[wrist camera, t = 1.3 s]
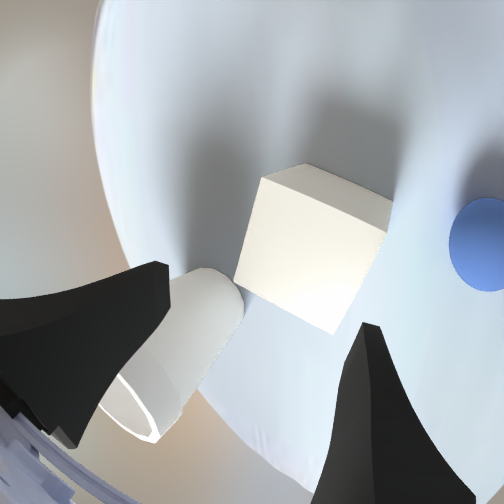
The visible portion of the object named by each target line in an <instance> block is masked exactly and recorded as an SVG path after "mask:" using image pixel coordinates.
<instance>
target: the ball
mask: <svg viewBox="0 0 504 504" xmlns="http://www.w3.org/2000/svg"><path fill="white" fill-rule="evenodd" d="M449 252H450V257H451V261H452V264H453V266H454V268H455V270H456V272H457V273H458V275H459V276H460V277H461V278H462V280H463V281H464V282H466V283H467V284H468V285H470V286H471V287H473V288H475V289H477V290H481V291H487V292H492V291H498V290H501V289H503V288H504V201H502V200H499V199H496V198H481V199H477V200H475V201H473V202H471V203H469V204H468V205H466V206H465V207H464V208H463V209H462V210H461V211H460V212H459V214H458V215H457V217H456V218H455V220H454V222H453V225H452V228H451V231H450V237H449Z"/></svg>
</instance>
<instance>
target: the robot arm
mask: <svg viewBox="0 0 504 504" xmlns="http://www.w3.org/2000/svg"><path fill="white" fill-rule="evenodd" d="M170 308H171V301H170V284H169V265H167V264H164V263H161V262H158V261H153V262H150V263H146V264H143V265H140V266H138V267H135V268H132V269H129V270H127V271H124V272H122V273H119V274H116V275H113V276H111V277H108V278H105V279H102V280H99V281H96V282H93V283H90V284H87V285H84V286H82V287H78V288H75V289H71V290H67V291H63V292H59V293H54V294H48V295H42V296H36V297H31V298H20V299H0V504H76V503H75V502H73V501H72V500H71V498H72V496H73V495H74V494H75V490H74V489H73V488H72V487H70V486H69V485H68V484H67V483H66V482H64V481H63V480H62V479H61V478H59V477H58V476H57V475H56V474H55V473H53V472H52V471H51V470H49V469H48V468H47V467H46V466H45V465H44V464H43V463H41V462H40V460H39V452H40V453H41V454H42V455H43V456H44V457H45V458H46V459H47V460H49V461H50V462H51V463H52V464H53V465H54V466H55V467H57V468H58V469H59V470H60V471H61V472H63V473H64V474H65V475H66V476H68V477H69V478H70V479H71V480H73V481H74V482H75V483H77V484H78V485H79V486H81V487H82V488H83V489H85V490H86V491H87V492H89V493H91V494H92V495H93V496H95V497H96V498H97V499H99V500H100V501H102V502H103V503H105V504H141V503H139V502H138V501H136V500H134V499H133V498H131V497H129V496H127V495H126V494H124V493H122V492H121V491H119V490H117V489H116V488H114V487H113V486H111V485H110V484H108V483H106V482H105V481H103V480H102V479H100V478H99V477H98V476H96V475H95V474H93V473H92V472H90V471H89V470H87V469H86V468H85V467H83V466H82V465H81V464H79V463H78V462H77V461H75V460H74V459H73V458H72V457H70V456H69V455H68V454H66V453H65V452H64V451H63V450H62V449H60V448H59V447H58V446H57V445H56V444H54V443H53V442H52V441H51V440H50V439H49V438H47V437H46V436H45V435H44V434H43V433H42V432H41V430H43V431H44V432H46V433H47V434H48V435H52V436H53V437H55V438H56V439H57V440H58V441H59V442H61V443H62V444H63V445H64V446H65V447H67V448H68V449H75V448H77V447H78V444H79V442H80V440H81V437H82V435H83V433H84V431H85V429H86V427H87V425H88V423H89V421H90V419H91V417H92V415H93V413H94V411H95V410H96V408H97V406H98V404H99V403H100V401H101V399H102V398H103V396H104V394H105V393H106V391H107V389H108V388H109V386H110V385H111V383H112V382H113V380H114V379H115V377H116V376H117V374H118V373H119V372H120V370H121V369H122V368H123V367H124V365H125V364H126V363H127V362H128V361H129V360H130V358H131V357H132V356H133V355H134V354H135V353H136V352H137V351H138V349H139V348H140V347H141V346H142V345H143V344H144V343H145V342H146V340H147V339H148V338H149V337H150V336H151V335H152V334H153V332H154V331H155V330H156V329H157V328H158V326H159V325H160V323H161V322H162V320H163V319H164V317H165V316H166V314H167V313H168V311H169V310H170ZM38 451H39V452H38ZM311 504H476V496H475V495H474V494H473V492H472V491H471V490H470V489H469V488H468V487H467V486H466V485H465V484H464V483H463V481H462V480H461V479H460V478H459V477H458V476H457V475H456V474H455V472H454V471H453V470H452V468H451V467H450V466H449V465H448V463H447V462H446V461H445V459H444V458H443V457H442V455H441V454H440V452H439V451H438V450H437V448H436V446H435V445H434V443H433V442H432V440H431V439H430V437H429V436H428V434H427V433H426V431H425V429H424V428H423V426H422V424H421V422H420V420H419V419H418V417H417V415H416V413H415V411H414V409H413V407H412V405H411V403H410V401H409V399H408V397H407V395H406V393H405V390H404V388H403V386H402V383H401V381H400V379H399V376H398V374H397V371H396V369H395V366H394V364H393V361H392V359H391V356H390V353H389V350H388V348H387V345H386V342H385V339H384V336H383V334H382V331H381V329H380V327H379V326H376V325H372V324H368V323H364V322H363V323H362V325H361V327H360V330H359V332H358V334H357V336H356V339H355V341H354V343H353V345H352V347H351V350H350V352H349V354H348V356H347V358H346V360H345V362H344V366H343V371H342V375H341V379H340V383H339V387H338V395H337V402H336V409H335V416H334V423H333V429H332V436H331V442H330V446H329V451H328V454H327V458H326V461H325V464H324V467H323V470H322V474H321V477H320V479H319V482H318V485H317V488H316V491H315V493H314V496H313V499H312V501H311Z"/></svg>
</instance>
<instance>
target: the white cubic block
mask: <svg viewBox="0 0 504 504" xmlns="http://www.w3.org/2000/svg"><path fill="white" fill-rule="evenodd" d="M392 204H393V201H391V200H389V199H387V198H385V197H383V196H381V195H379V194H376V193H374V192H372V191H370V190H368V189H366V188H363V187H361V186H359V185H357V184H354V183H352V182H350V181H348V180H345V179H343V178H341V177H338V176H336V175H333V174H331V173H329V172H326V171H324V170H321V169H319V168H316V167H314V166H311V165H309V164H306V163H304V164H300V165H297V166H294V167H291V168H288V169H284V170H281V171H278V172H275V173H272V174H269V175H266V176H263V177H261V180H260V184H259V188H258V191H257V195H256V199H255V202H254V206H253V210H252V213H251V217H250V221H249V224H248V228H247V232H246V236H245V239H244V243H243V247H242V250H241V254H240V258H239V262H238V265H237V269H236V273H235V277H234V280H233V282H235V283H236V284H238V285H240V286H242V287H244V288H245V289H247V290H249V291H251V292H253V293H255V294H256V295H258V296H260V297H262V298H264V299H266V300H268V301H269V302H271V303H273V304H275V305H277V306H279V307H281V308H282V309H284V310H286V311H288V312H290V313H292V314H294V315H296V316H298V317H300V318H301V319H303V320H305V321H307V322H309V323H311V324H313V325H315V326H317V327H319V328H321V329H323V330H325V331H326V332H328V333H330V334H332V335H333V334H334V332H335V330H336V329H337V327H338V325H339V324H340V322H341V320H342V318H343V317H344V315H345V313H346V311H347V310H348V308H349V306H350V304H351V302H352V301H353V299H354V297H355V295H356V293H357V291H358V290H359V288H360V286H361V284H362V282H363V280H364V278H365V276H366V274H367V272H368V270H369V268H370V266H371V265H372V263H373V261H374V259H375V257H376V254H377V252H378V250H379V248H380V246H381V244H382V242H383V240H384V238H385V236H386V234H387V230H388V225H389V220H390V215H391V209H392Z"/></svg>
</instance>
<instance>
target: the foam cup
mask: <svg viewBox="0 0 504 504" xmlns="http://www.w3.org/2000/svg"><path fill="white" fill-rule="evenodd" d="M169 284H170V301H171V308H170V310H169V311H168V313H167V314H166V316H165V317H164V319H163V320H162V322H161V323H160V325H159V326H158V328H157V329H156V330H155V331H154V332H153V334H152V335H151V336H150V337H149V338H148V339H147V340H146V342H145V343H144V344H143V345H142V346H141V347H140V348H139V349H138V351H137V352H136V353H135V354H134V355H133V356H132V357H131V358H130V360H129V361H128V362H127V363H126V364H125V365H124V367H123V368H122V369H121V370H120V372H119V373H118V374H117V376H116V377H115V379H114V380H113V382H112V383H111V385H110V386H109V388H108V389H107V391H106V393H105V394H104V396H103V398H102V399H101V401H100V403H99V404H98V405H99V406H100V407H101V408H102V409H103V411H105V412H106V413H107V414H108V415H109V416H110V417H111V418H112V419H113V420H114V421H116V422H117V423H118V424H119V425H120V426H121V427H122V428H124V429H125V430H127V431H128V432H130V433H131V434H133V435H135V436H136V437H138V438H140V439H141V440H145V441H148V442H152V443H156V442H157V441H158V440H159V439H160V438H161V437H162V436H163V435H164V433H166V432H167V430H168V429H169V428H170V427H171V426H172V425H173V424H174V423H175V422H176V421H177V420H178V418H179V417H180V416H181V415H182V414H183V411H182V408H183V407H184V405H185V404H186V403H187V401H188V400H189V398H190V397H191V395H192V394H193V392H194V391H195V390H196V388H197V387H198V385H199V384H200V382H201V381H202V379H203V378H204V376H205V375H206V374H207V372H208V371H209V369H210V368H211V366H212V365H213V363H214V362H215V360H216V359H217V357H218V356H219V354H220V353H221V351H222V350H223V348H224V347H225V345H226V344H227V342H228V341H229V339H230V338H231V336H232V335H233V333H234V332H235V330H236V329H237V327H238V326H239V324H240V323H241V321H242V319H243V318H244V302H243V299H242V297H241V294H240V292H239V289H238V288H237V287H236V286H235V285H234V284H233V282H232V281H231V280H230V279H229V278H228V277H227V276H226V275H224V274H222V273H220V272H219V271H217V270H215V269H213V268H198V269H197V270H193V271H191V272H188V273H186V274H184V275H181V276H179V277H177V278H175V279H172V280H170V281H169Z"/></svg>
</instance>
